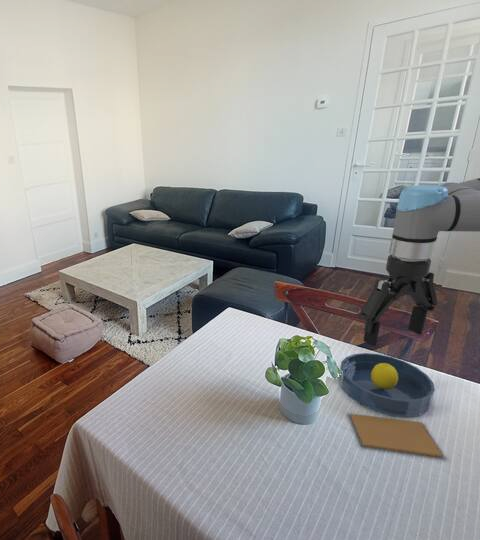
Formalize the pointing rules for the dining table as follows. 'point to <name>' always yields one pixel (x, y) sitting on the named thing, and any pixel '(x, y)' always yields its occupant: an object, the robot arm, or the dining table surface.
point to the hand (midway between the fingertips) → (392, 337)
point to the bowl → (393, 400)
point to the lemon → (384, 376)
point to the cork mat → (395, 435)
